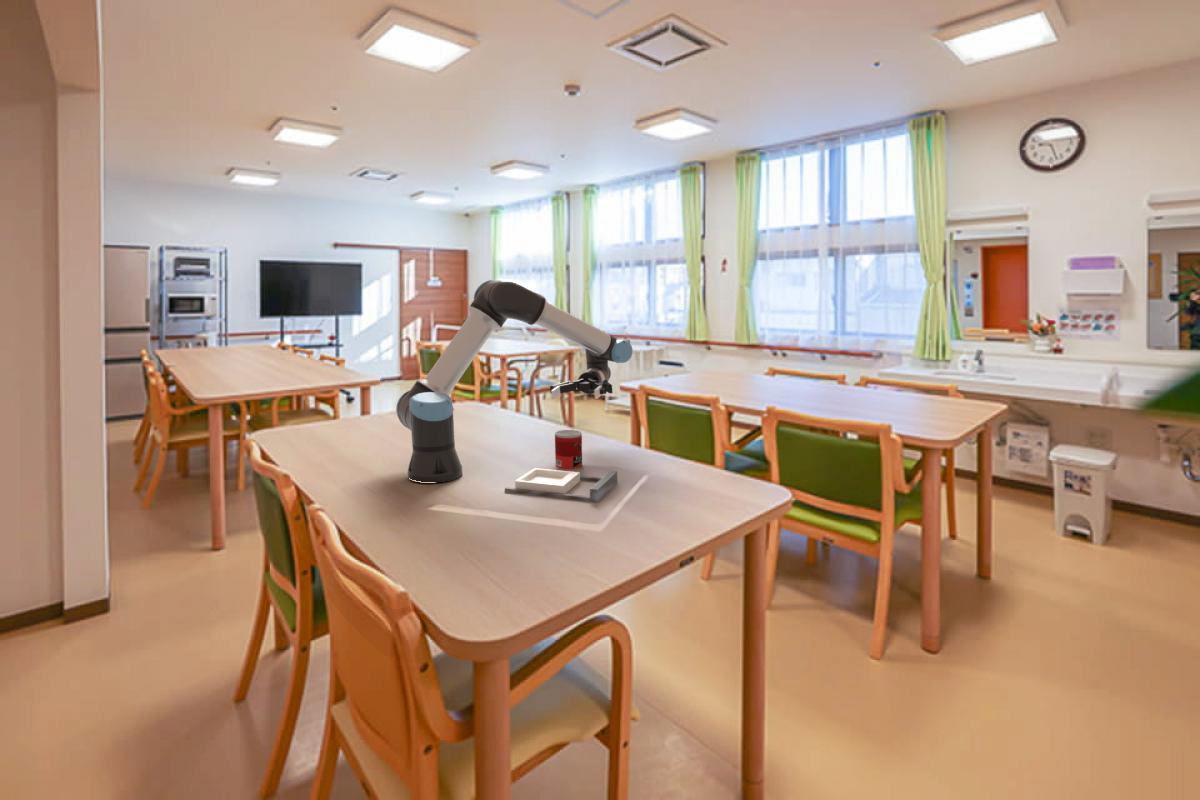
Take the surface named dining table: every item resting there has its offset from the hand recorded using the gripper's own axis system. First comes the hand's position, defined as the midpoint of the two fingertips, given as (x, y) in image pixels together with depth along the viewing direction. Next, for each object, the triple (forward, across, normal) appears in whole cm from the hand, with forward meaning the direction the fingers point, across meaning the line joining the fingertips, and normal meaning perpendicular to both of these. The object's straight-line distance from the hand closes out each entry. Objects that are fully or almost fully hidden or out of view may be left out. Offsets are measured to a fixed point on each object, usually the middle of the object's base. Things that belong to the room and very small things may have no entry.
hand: (574, 394), depth 184 cm
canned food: (+8, +1, -21) cm, 23 cm away
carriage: (+28, +2, -19) cm, 33 cm away
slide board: (+28, -4, -20) cm, 35 cm away
